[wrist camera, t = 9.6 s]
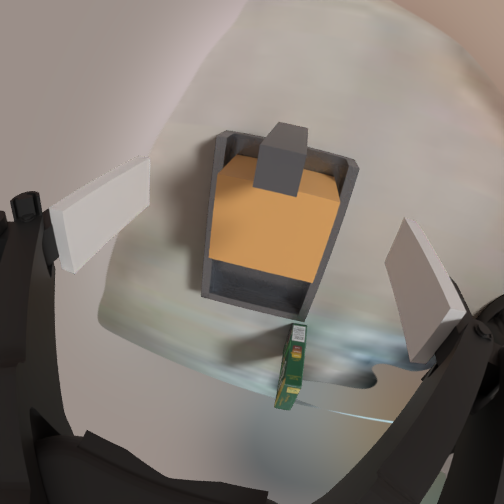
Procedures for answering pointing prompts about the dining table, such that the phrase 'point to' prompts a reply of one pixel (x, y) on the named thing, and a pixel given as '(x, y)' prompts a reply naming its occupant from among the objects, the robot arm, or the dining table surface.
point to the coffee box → (291, 367)
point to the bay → (259, 282)
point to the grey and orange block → (274, 208)
